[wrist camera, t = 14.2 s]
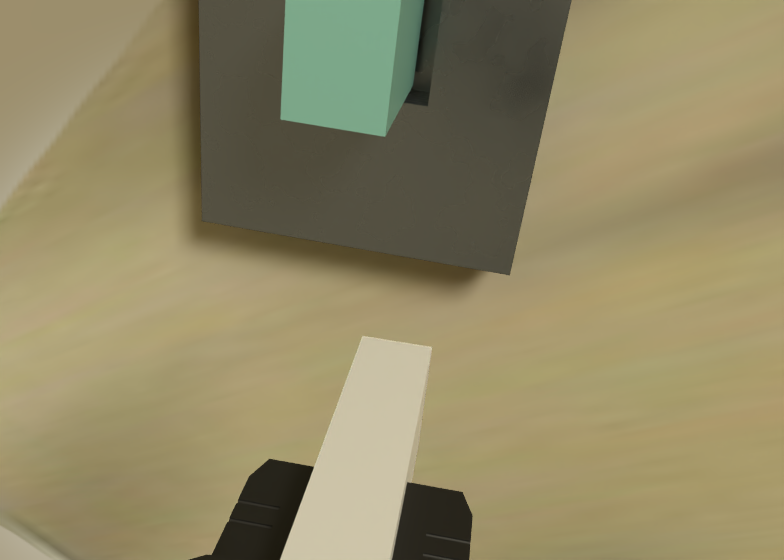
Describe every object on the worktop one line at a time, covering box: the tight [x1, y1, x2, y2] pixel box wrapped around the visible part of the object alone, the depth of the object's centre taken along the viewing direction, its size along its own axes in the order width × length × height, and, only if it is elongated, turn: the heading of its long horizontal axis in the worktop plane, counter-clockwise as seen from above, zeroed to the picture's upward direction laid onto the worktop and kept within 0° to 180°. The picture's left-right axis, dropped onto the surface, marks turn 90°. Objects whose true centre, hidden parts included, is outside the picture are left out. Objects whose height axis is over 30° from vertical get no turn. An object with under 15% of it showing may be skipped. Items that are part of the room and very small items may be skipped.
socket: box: [199, 0, 571, 275], centre depth 33 cm, size 22×16×4 cm
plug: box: [280, 0, 424, 137], centre depth 30 cm, size 5×4×9 cm
